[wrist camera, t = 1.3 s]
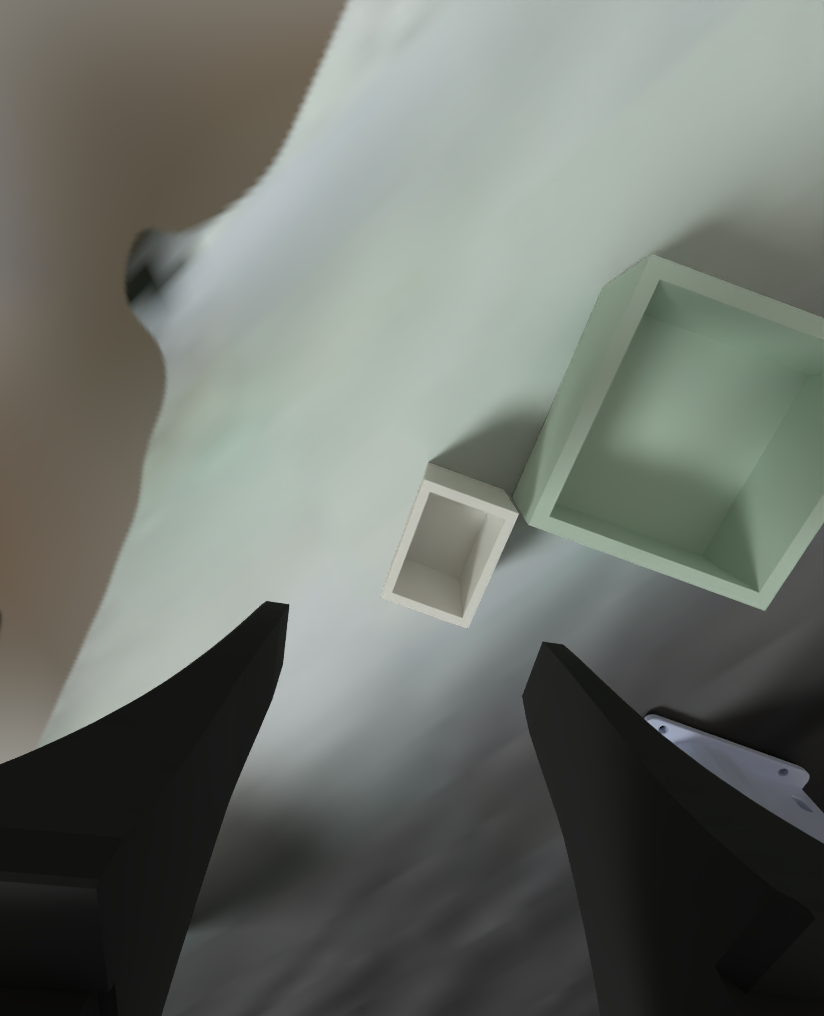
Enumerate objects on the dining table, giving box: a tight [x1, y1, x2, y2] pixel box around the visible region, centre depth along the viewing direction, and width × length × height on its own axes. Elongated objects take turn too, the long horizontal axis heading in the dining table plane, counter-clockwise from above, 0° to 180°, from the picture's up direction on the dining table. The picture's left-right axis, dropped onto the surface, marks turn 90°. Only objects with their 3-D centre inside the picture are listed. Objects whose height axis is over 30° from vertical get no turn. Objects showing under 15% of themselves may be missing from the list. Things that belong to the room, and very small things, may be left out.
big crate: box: [512, 254, 824, 611], centre depth 17 cm, size 10×10×4 cm
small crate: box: [380, 462, 519, 629], centre depth 20 cm, size 4×6×4 cm
